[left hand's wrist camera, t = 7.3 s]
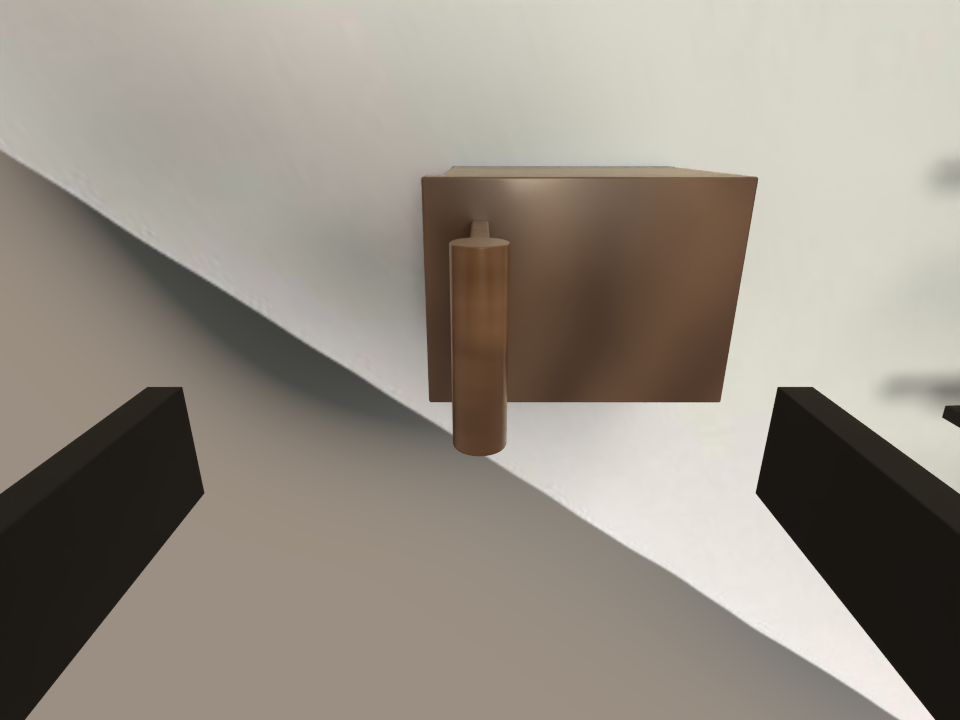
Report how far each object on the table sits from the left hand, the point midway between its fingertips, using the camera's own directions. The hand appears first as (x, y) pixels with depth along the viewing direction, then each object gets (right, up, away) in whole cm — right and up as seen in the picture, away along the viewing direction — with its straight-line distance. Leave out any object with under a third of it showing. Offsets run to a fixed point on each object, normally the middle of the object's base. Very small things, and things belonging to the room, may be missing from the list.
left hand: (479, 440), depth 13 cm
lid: (+4, +5, +13) cm, 14 cm away
